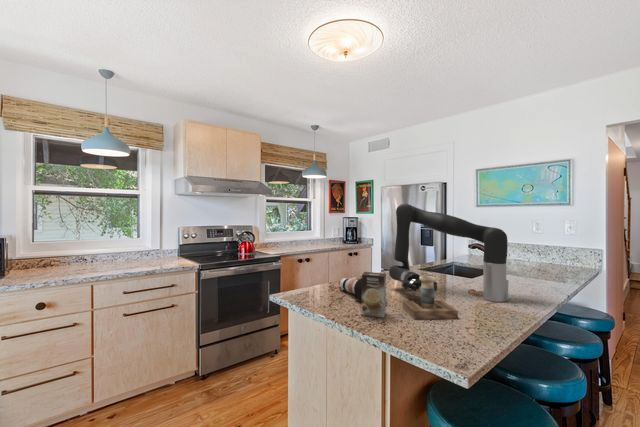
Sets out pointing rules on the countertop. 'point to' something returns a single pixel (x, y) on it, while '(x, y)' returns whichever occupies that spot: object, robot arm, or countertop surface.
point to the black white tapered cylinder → (352, 286)
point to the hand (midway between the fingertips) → (425, 288)
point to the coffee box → (373, 294)
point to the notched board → (430, 310)
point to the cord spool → (427, 291)
